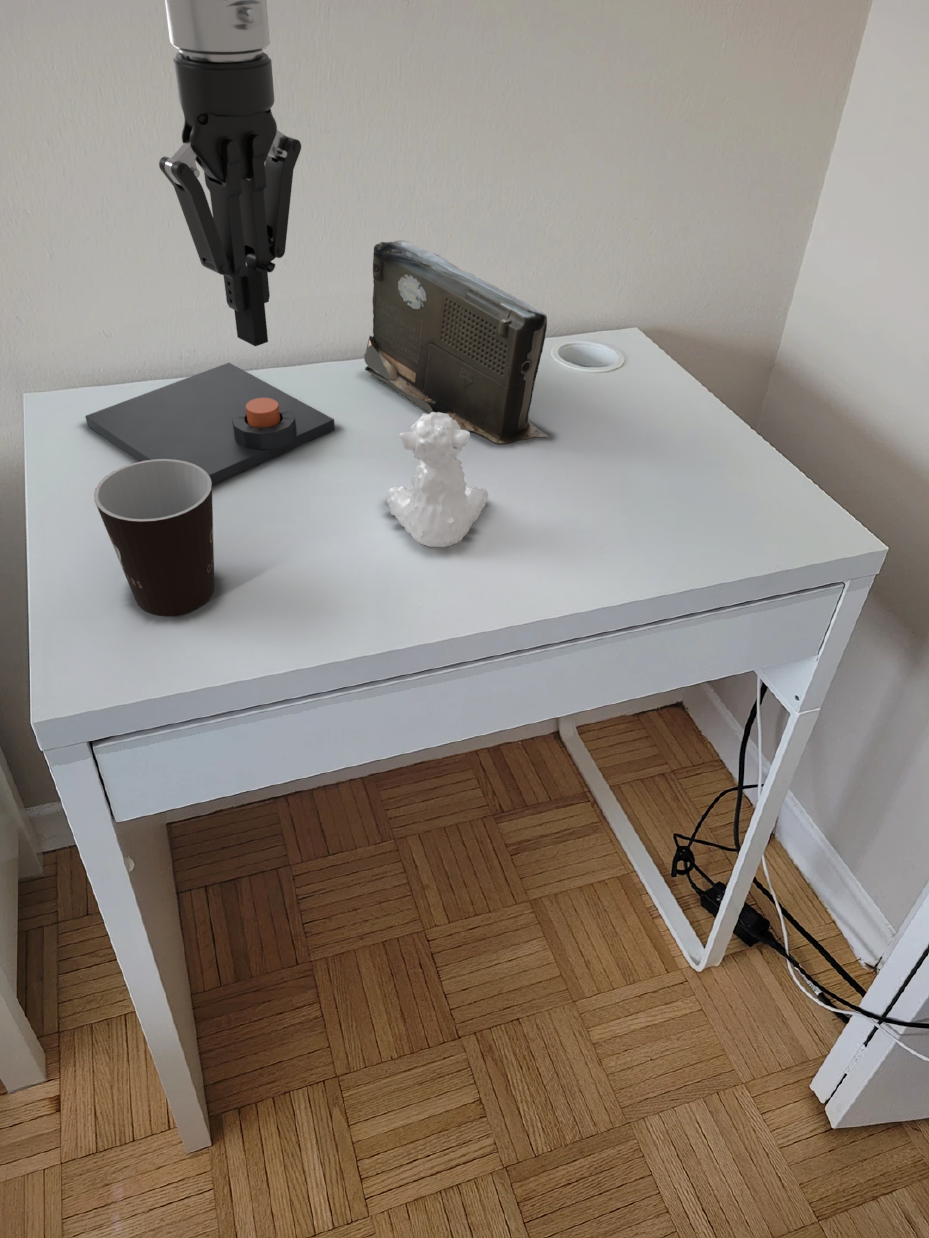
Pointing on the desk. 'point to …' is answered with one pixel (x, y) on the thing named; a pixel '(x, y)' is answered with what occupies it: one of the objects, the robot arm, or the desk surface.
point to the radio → (454, 342)
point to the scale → (209, 423)
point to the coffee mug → (161, 532)
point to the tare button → (263, 412)
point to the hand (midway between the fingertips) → (252, 339)
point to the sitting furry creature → (436, 484)
